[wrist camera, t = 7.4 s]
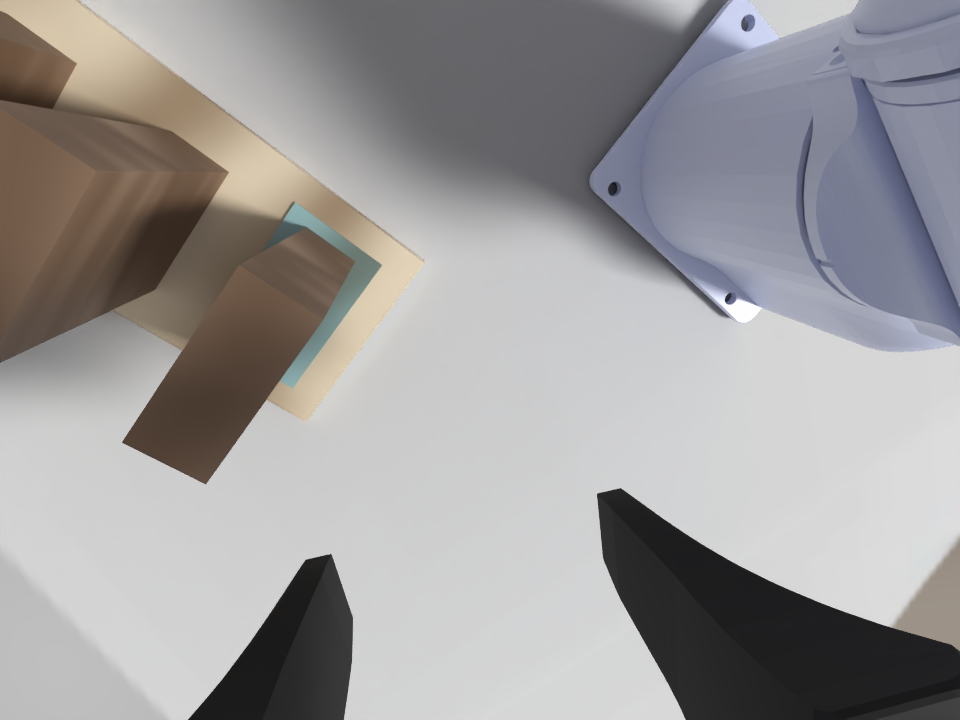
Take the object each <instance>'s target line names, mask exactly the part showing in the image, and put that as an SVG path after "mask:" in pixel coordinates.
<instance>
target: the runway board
mask: <svg viewBox="0 0 960 720" xmlns="http://www.w3.org/2000/svg"><path fill="white" fill-rule="evenodd" d="M0 11H2V12H4V13H7V14H8V15H10V16H11V17H13V18H14V19H15V20H17V21H18V22H20V23H21V24H22V25H24V26H25V27H27V28H28V29H29V30H31V31H32V32H34V33H35V34H36V35H38V36H39V37H41V38H42V39H43V40H45V41H46V42H48V43H49V44H50V45H52V46H53V47H55V48H56V49H57V50H59V51H60V52H62V53H63V54H64V55H66V56H67V57H69V58H70V59H71V60H73V61H74V62H76V63H77V65H76V67H75V68H74V70H73V72H72V74H71V76H70V78H69V80H68V81H67V83H66V85H65V87H64V89H63V91H62V93H61V94H60V96H59V98H58V100H57V102H56V104H55V106H54V107H53V110H58V111H64V112H69V113H75V114H80V115H86V116H91V117H97V118H102V119H108V120H113V121H119V122H124V123H129V124H135V125H140V126H146V127H151V128H157V129H162V130H168V131H172V132H174V133H175V134H176V135H178V136H179V137H181V138H182V139H183V140H185V141H186V142H188V143H189V144H190V145H192V146H193V147H195V148H196V149H197V150H199V151H200V152H202V153H203V154H204V155H206V156H207V157H209V158H210V159H211V160H213V161H214V162H216V163H217V164H218V165H220V166H221V167H223V168H224V169H225V170H227V171H228V172H229V173H228V175H227V177H226V178H225V180H224V181H223V183H222V185H221V186H220V188H219V189H218V191H217V193H216V194H215V196H214V197H213V199H212V200H211V202H210V204H209V205H208V207H207V208H206V210H205V212H204V213H203V215H202V216H201V218H200V219H199V221H198V223H197V224H196V226H195V227H194V229H193V231H192V232H191V234H190V235H189V237H188V238H187V240H186V242H185V243H184V245H183V246H182V248H181V250H180V251H179V253H178V254H177V256H176V258H175V259H174V261H173V262H172V264H171V265H170V267H169V269H168V270H167V272H166V273H165V275H164V277H163V278H162V280H161V281H160V283H159V284H158V286H157V288H156V289H155V290H154V291H152V292H150V293H147V294H145V295H143V296H141V297H139V298H137V299H135V300H132V301H130V302H128V303H126V304H124V305H122V306H120V307H118V308H115V309H113V311H115V312H116V313H118V314H120V315H121V316H123V317H125V318H127V319H128V320H130V321H132V322H134V323H135V324H137V325H139V326H141V327H142V328H144V329H146V330H147V331H149V332H151V333H153V334H154V335H156V336H158V337H160V338H161V339H163V340H165V341H166V342H168V343H170V344H172V345H173V346H175V347H177V348H179V349H180V350H183V349H184V347H185V346H186V344H187V343H188V341H189V340H190V338H191V337H192V335H193V334H194V332H195V331H196V329H197V328H198V326H199V325H200V323H201V322H202V320H203V319H204V317H205V316H206V314H207V313H208V311H209V309H210V308H211V306H212V305H213V303H214V302H215V300H216V299H217V297H218V296H219V294H220V293H221V291H222V290H223V288H224V287H225V285H226V284H227V282H228V281H229V279H230V278H231V276H232V275H233V273H234V271H235V270H236V268H237V267H238V265H239V264H241V263H243V262H245V261H246V260H248V259H250V258H252V257H254V256H255V255H257V254H259V253H261V252H263V251H264V250H266V249H268V248H270V247H272V246H274V245H275V244H277V243H279V242H281V241H283V240H284V239H286V238H288V237H290V236H292V235H293V234H295V233H297V232H299V231H301V230H302V229H304V228H306V227H308V228H309V229H310V230H312V231H313V232H315V233H316V234H317V235H319V236H320V237H322V238H323V239H324V240H326V241H327V242H329V243H330V244H331V245H333V246H334V247H336V248H337V249H338V250H340V251H341V252H343V253H344V254H345V255H347V256H348V257H350V258H351V259H353V260H354V261H355V263H354V265H353V267H352V268H351V270H350V272H349V274H348V276H347V278H346V279H345V281H344V283H343V285H342V287H341V289H340V290H339V292H338V294H337V296H336V298H335V299H334V301H333V303H332V305H331V307H330V309H329V310H328V312H327V314H326V316H325V318H324V320H323V321H322V322H321V324H320V325H319V327H318V328H317V329H316V331H315V332H314V334H313V335H312V336H311V338H310V339H309V341H308V342H307V343H306V345H305V346H304V348H303V349H302V350H301V352H300V353H299V355H298V356H297V357H296V359H295V360H294V362H293V363H292V364H291V366H290V367H289V369H288V370H287V371H286V373H285V374H284V376H283V377H282V378H281V380H280V381H279V383H278V384H277V385H276V387H275V388H274V390H273V391H272V392H271V394H270V395H269V397H268V398H267V400H268V401H270V402H272V403H274V404H275V405H277V406H279V407H281V408H282V409H284V410H286V411H288V412H289V413H291V414H293V415H294V416H296V417H298V418H300V419H301V420H303V421H305V422H307V420H308V419H309V417H310V416H311V415H312V413H313V412H314V411H315V409H316V408H317V407H318V405H319V404H320V403H321V401H322V400H323V399H324V397H325V396H326V395H327V393H328V392H329V391H330V389H331V388H332V387H333V385H334V384H335V383H336V381H337V380H338V379H339V377H340V376H341V375H342V373H343V372H344V371H345V369H346V368H347V367H348V365H349V364H350V362H351V361H352V360H353V358H354V357H355V356H356V354H357V353H358V352H359V350H360V349H361V348H362V346H363V345H364V344H365V342H366V341H367V340H368V338H369V337H370V336H371V334H372V333H373V332H374V330H375V329H376V328H377V326H378V325H379V324H380V322H381V321H382V320H383V318H384V317H385V316H386V314H387V313H388V311H389V310H390V309H391V307H392V306H393V305H394V303H395V302H396V301H397V299H398V298H399V297H400V295H401V294H402V293H403V291H404V290H405V289H406V287H407V286H408V285H409V283H410V282H411V281H412V279H413V278H414V277H415V275H416V274H417V273H418V271H419V270H420V269H421V267H422V266H423V265H424V260H423V259H421V258H420V257H419V256H417V255H416V254H415V253H413V252H412V251H411V250H409V249H408V248H407V247H405V246H404V245H403V244H401V243H400V242H399V241H397V240H396V239H395V238H393V237H392V236H391V235H389V234H388V233H387V232H385V231H384V230H383V229H381V228H380V227H379V226H377V225H376V224H375V223H373V222H372V221H371V220H369V219H368V218H367V217H365V216H364V215H363V214H361V213H360V212H359V211H357V210H356V209H355V208H353V207H352V206H351V205H349V204H348V203H347V202H346V201H344V200H343V199H342V198H340V197H339V196H338V195H336V194H335V193H334V192H332V191H331V190H330V189H328V188H327V187H326V186H324V185H323V184H322V183H320V182H319V181H318V180H316V179H315V178H314V177H312V176H311V175H310V174H308V173H307V172H306V171H304V170H303V169H302V168H300V167H299V166H298V165H296V164H295V163H294V162H292V161H291V160H290V159H288V158H287V157H286V156H284V155H283V154H282V153H280V152H279V151H278V150H276V149H275V148H274V147H272V146H271V145H270V144H268V143H267V142H266V141H264V140H263V139H262V138H260V137H259V136H258V135H256V134H255V133H254V132H252V131H251V130H250V129H248V128H247V127H246V126H244V125H243V124H242V123H241V122H239V121H238V120H237V119H235V118H234V117H233V116H231V115H230V114H229V113H227V112H226V111H225V110H223V109H222V108H221V107H219V106H218V105H217V104H215V103H214V102H213V101H211V100H210V99H209V98H207V97H206V96H205V95H203V94H202V93H201V92H199V91H198V90H197V89H195V88H194V87H193V86H191V85H190V84H189V83H187V82H186V81H185V80H183V79H182V78H181V77H179V76H178V75H177V74H175V73H174V72H173V71H171V70H170V69H169V68H167V67H166V66H165V65H163V64H162V63H161V62H159V61H158V60H157V59H155V58H154V57H153V56H151V55H150V54H149V53H147V52H146V51H145V50H143V49H142V48H141V47H139V46H138V45H137V44H135V43H134V42H133V41H132V40H130V39H129V38H128V37H126V36H125V35H124V34H122V33H121V32H120V31H118V30H117V29H116V28H114V27H113V26H112V25H110V24H109V23H108V22H106V21H105V20H104V19H102V18H101V17H100V16H98V15H97V14H96V13H94V12H93V11H92V10H90V9H89V8H88V7H86V6H85V5H84V4H82V3H81V2H80V1H78V0H0Z"/></svg>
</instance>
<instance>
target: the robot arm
mask: <svg viewBox="0 0 960 720" xmlns="http://www.w3.org/2000/svg"><path fill="white" fill-rule="evenodd" d="M743 17H744V18H745V19H747V22H748V28H747V30H746V32H745V31H744V30H743V29H742V27H741V21H742V19H743ZM612 182H615V183H616V185H617V191H616V193H615V194H614V195H613V196H611V195H610V194H609V193H608V187H609V185H610V184H611V183H612ZM589 183H590V187H591V189H592V190H593V191H594V192H595V193H596V194H597V195H598V196H599V197H600V198H601V199H602V200H603V201H605V202H606V203H607V204H608V205H609V206H610V207H611V208H612V209H613V210H614V211H615V212H616V213H618V214H619V215H620V216H621V217H622V218H623V219H624V220H625V221H626V222H627V223H628V224H629V225H631V226H632V227H633V228H634V229H635V230H636V231H637V232H638V233H639V234H640V235H641V236H642V237H644V238H645V239H646V240H647V241H648V242H649V243H650V244H651V245H652V246H653V247H654V248H655V249H657V250H658V251H659V252H660V253H661V254H662V255H663V256H664V257H665V258H666V259H667V260H668V261H670V262H671V263H672V264H673V265H674V266H675V267H676V268H677V269H678V270H679V271H680V272H681V273H683V274H684V275H685V276H686V277H687V278H688V279H689V280H690V281H691V282H692V283H693V284H694V285H696V286H697V287H698V288H699V289H700V290H701V291H702V292H703V293H704V294H705V295H706V296H707V297H709V298H710V299H711V300H712V301H713V302H714V303H715V304H716V305H717V306H718V307H719V308H720V309H721V310H723V311H724V312H725V313H726V314H727V315H728V316H729V317H730V318H731V319H732V320H734V321H736V322H738V323H746V322H749V321H750V320H751V319H752V318H753V317H754V316H755V315H756V314H757V313H758V312H759V311H760V310H761V308H764V309H766V310H769V311H772V312H774V313H777V314H780V315H782V316H785V317H788V318H790V319H793V320H796V321H798V322H801V323H804V324H806V325H809V326H812V327H814V328H817V329H820V330H822V331H825V332H828V333H830V334H833V335H836V336H838V337H841V338H844V339H846V340H849V341H852V342H854V343H857V344H860V345H862V346H865V347H868V348H872V349H876V350H881V351H889V352H914V351H924V350H931V349H938V348H943V347H947V346H951V345H958V346H960V0H859V1H858V3H857V5H856V7H855V8H854V10H853V11H852V12H851V13H850V14H847V15H844V16H841V17H839V18H836V19H833V20H830V21H828V22H825V23H822V24H819V25H816V26H814V27H811V28H808V29H805V30H802V31H800V32H797V33H794V34H791V35H788V36H786V37H783V38H779V37H778V36H777V35H776V33H775V32H774V31H773V29H772V28H771V27H770V26H769V24H768V23H767V22H766V21H765V19H764V18H763V17H762V16H761V14H760V13H759V12H758V11H757V9H756V8H755V7H754V6H753V4H752V3H751V2H750V1H749V0H728V1H727V2H726V3H725V4H724V5H723V7H722V8H721V9H720V10H719V12H718V13H717V14H716V15H715V17H714V18H713V19H712V21H711V22H710V23H709V24H708V26H707V27H706V28H705V29H704V31H703V32H702V33H701V34H700V36H699V37H698V38H697V40H696V41H695V42H694V43H693V45H692V46H691V47H690V48H689V50H688V51H687V52H686V53H685V55H684V56H683V57H682V59H681V60H680V61H679V62H678V64H677V65H676V66H675V67H674V69H673V70H672V71H671V73H670V74H669V75H668V76H667V78H666V79H665V80H664V81H663V83H662V84H661V85H660V86H659V88H658V89H657V90H656V92H655V93H654V94H653V95H652V97H651V98H650V99H649V100H648V102H647V103H646V104H645V105H644V107H643V108H642V109H641V111H640V112H639V113H638V114H637V116H636V117H635V118H634V119H633V121H632V122H631V123H630V124H629V126H628V127H627V128H626V130H625V131H624V132H623V133H622V135H621V136H620V137H619V138H618V140H617V141H616V142H615V144H614V145H613V146H612V147H611V149H610V150H609V151H608V152H607V154H606V155H605V156H604V157H603V159H602V160H601V161H600V163H599V164H598V165H597V166H596V168H595V169H594V170H593V171H592V173H591V175H590V179H589ZM729 293H731V298H730V300H729V301H727V302H725V297H726V295H727V294H729ZM597 498H598V509H599V519H600V530H601V540H602V551H603V559H604V562H605V564H606V566H607V569H608V571H609V574H610V576H611V579H612V581H613V583H614V586H615V588H616V590H617V593H618V595H619V597H620V599H621V601H622V603H623V604H624V606H625V608H626V610H627V612H628V613H629V615H630V617H631V619H632V621H633V622H634V624H635V626H636V628H637V629H638V631H639V633H640V635H641V636H642V638H643V640H644V642H645V644H646V645H647V647H648V649H649V651H650V652H651V654H652V656H653V658H654V659H655V661H656V663H657V665H658V666H659V668H660V670H661V672H662V673H663V675H664V677H665V679H666V681H667V682H668V684H669V686H670V688H671V690H672V692H673V694H674V696H675V698H676V700H677V702H678V704H679V706H680V708H681V710H682V712H683V715H684V717H685V719H686V720H960V651H959V650H957V649H956V648H955V647H953V646H952V645H950V644H946V643H943V642H939V641H936V640H932V639H929V638H925V637H922V636H918V635H915V634H911V633H908V632H904V631H900V630H897V629H894V628H890V627H887V626H884V625H881V624H878V623H875V622H872V621H869V620H866V619H863V618H860V617H857V616H854V615H851V614H849V613H846V612H843V611H840V610H838V609H835V608H832V607H830V606H827V605H824V604H822V603H819V602H817V601H814V600H812V599H810V598H807V597H805V596H802V595H800V594H798V593H795V592H793V591H790V590H788V589H786V588H784V587H781V586H779V585H777V584H775V583H773V582H770V581H768V580H766V579H764V578H762V577H760V576H758V575H756V574H754V573H752V572H750V571H748V570H746V569H744V568H742V567H740V566H739V565H737V564H735V563H733V562H731V561H729V560H727V559H726V558H724V557H722V556H721V555H719V554H717V553H715V552H714V551H712V550H710V549H709V548H707V547H705V546H704V545H702V544H700V543H699V542H697V541H696V540H694V539H692V538H691V537H689V536H688V535H686V534H685V533H683V532H682V531H680V530H679V529H677V528H676V527H674V526H673V525H671V524H670V523H669V522H667V521H666V520H664V519H663V518H661V517H660V516H659V515H657V514H656V513H654V512H653V511H652V510H650V509H649V508H647V507H646V506H645V505H643V504H642V503H641V502H639V501H638V500H636V499H635V498H634V497H632V496H631V495H630V494H628V493H627V492H625V491H624V490H622V489H621V488H620V489H615V490H611V491H607V492H602V493H598V494H597ZM352 641H353V617H352V614H351V611H350V608H349V605H348V602H347V599H346V596H345V593H344V590H343V587H342V584H341V581H340V578H339V575H338V572H337V569H336V566H335V563H334V560H333V558H332V555H331V554H329V555H325V556H320V557H316V558H312V559H307V560H305V562H304V563H303V565H302V566H301V568H300V569H299V570H298V572H297V573H296V575H295V576H294V578H293V580H292V581H291V583H290V584H289V586H288V587H287V589H286V590H285V592H284V593H283V595H282V596H281V598H280V599H279V601H278V603H277V604H276V606H275V607H274V609H273V610H272V612H271V613H270V614H269V616H268V617H267V619H266V620H265V622H264V623H263V625H262V626H261V628H260V629H259V630H258V632H257V633H256V635H255V636H254V638H253V639H252V641H251V642H250V643H249V645H248V646H247V647H246V649H245V650H244V651H243V653H242V654H241V655H240V657H239V658H238V659H237V661H236V662H235V663H234V665H233V666H232V667H231V669H230V670H229V671H228V673H227V674H226V675H225V677H224V678H223V679H222V680H221V682H220V683H219V684H218V685H217V687H216V688H215V689H214V690H213V691H212V693H211V694H210V695H209V696H208V697H207V698H206V700H205V701H204V702H203V703H202V704H201V705H200V707H199V708H198V709H197V710H196V711H195V712H194V713H193V715H192V716H191V717H190V718H189V719H188V720H344V714H345V707H346V701H347V693H348V686H349V679H350V672H351V664H352Z"/></svg>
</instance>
